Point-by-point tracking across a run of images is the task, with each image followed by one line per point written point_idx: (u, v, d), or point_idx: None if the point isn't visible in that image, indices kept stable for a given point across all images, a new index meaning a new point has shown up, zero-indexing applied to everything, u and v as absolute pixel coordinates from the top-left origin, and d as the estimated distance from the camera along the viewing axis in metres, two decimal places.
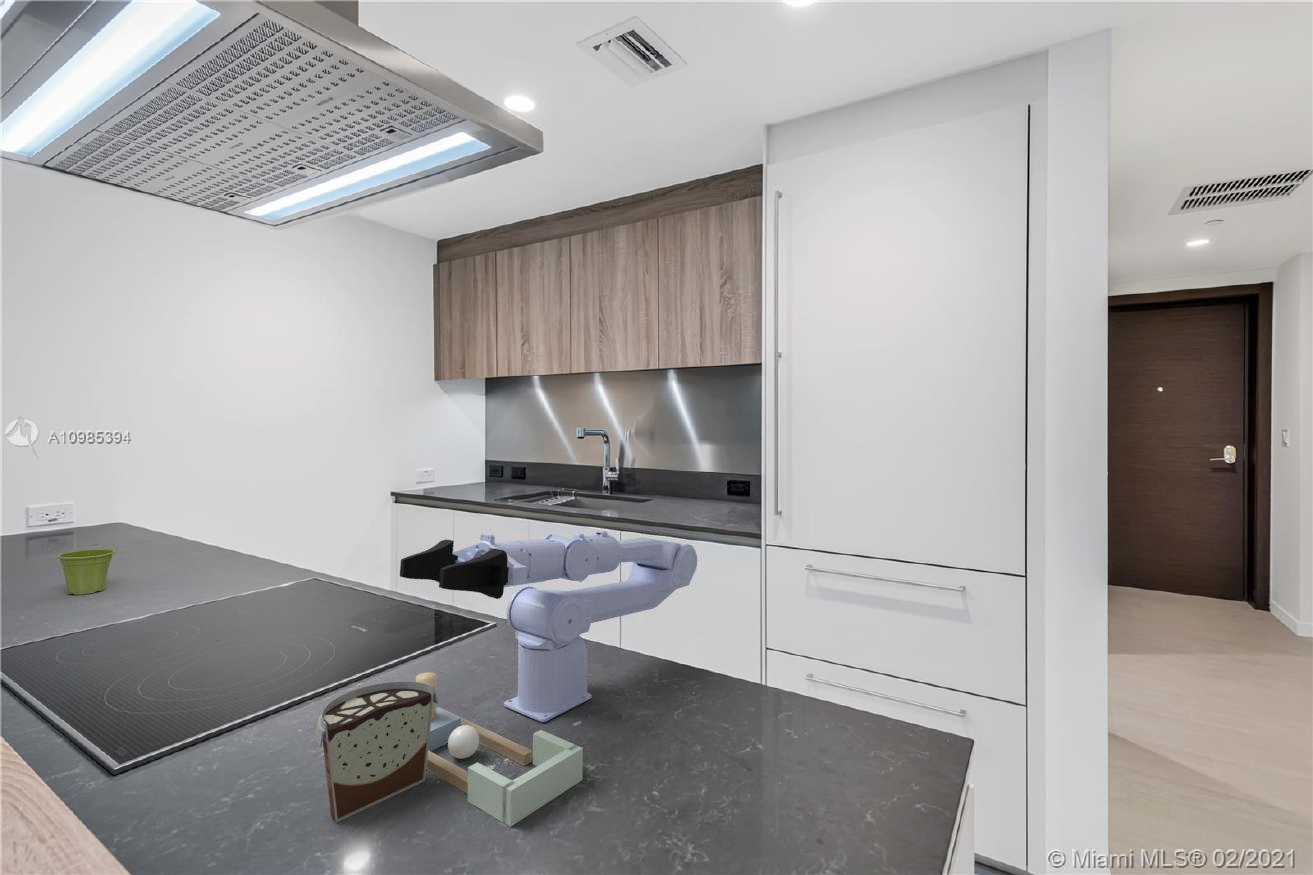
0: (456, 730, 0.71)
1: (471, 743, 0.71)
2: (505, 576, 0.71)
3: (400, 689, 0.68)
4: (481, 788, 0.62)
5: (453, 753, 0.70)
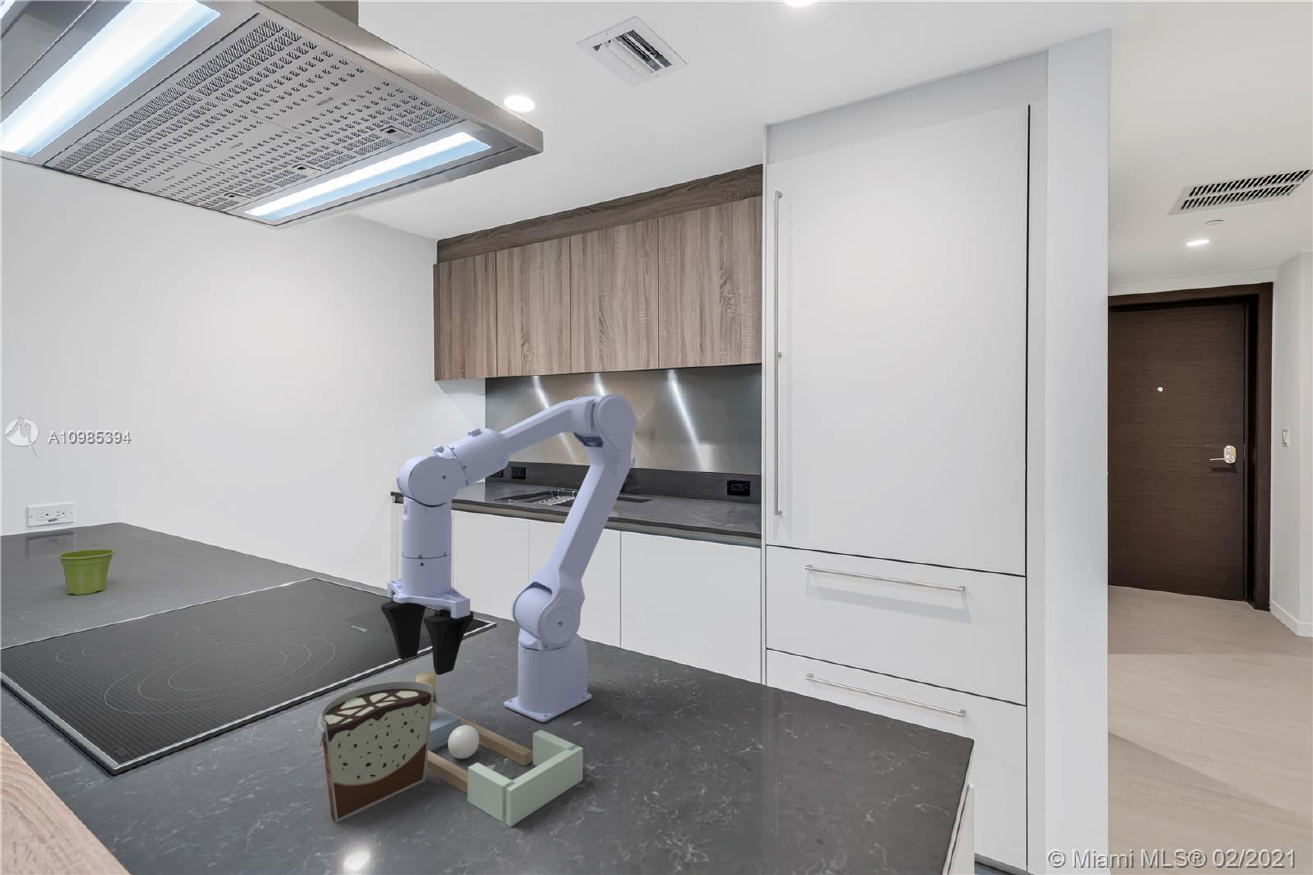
0: (456, 730, 0.71)
1: (471, 743, 0.71)
2: (458, 617, 0.72)
3: (399, 689, 0.68)
4: (481, 788, 0.62)
5: (453, 753, 0.70)
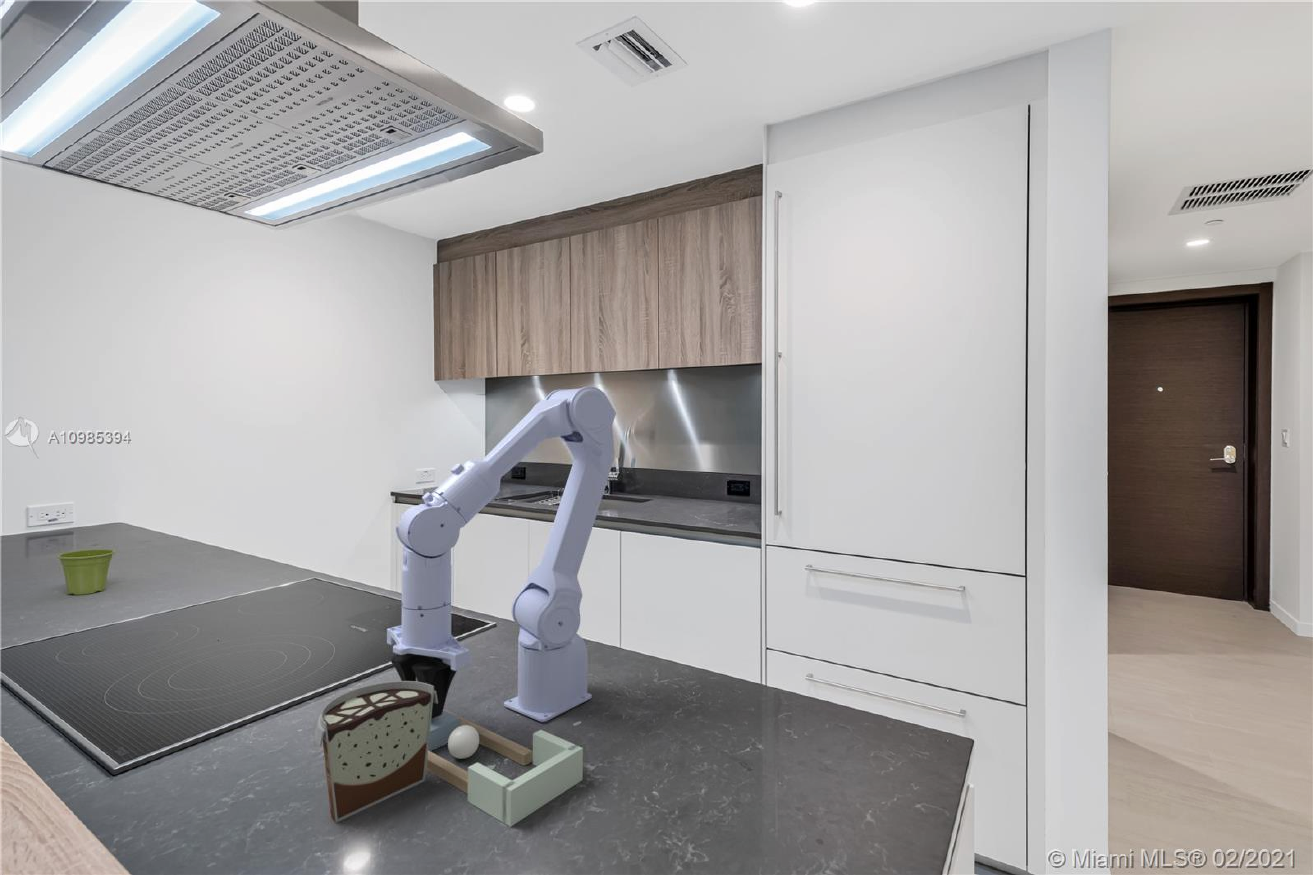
0: (456, 730, 0.71)
1: (471, 743, 0.71)
2: (446, 664, 0.74)
3: (400, 689, 0.68)
4: (481, 788, 0.62)
5: (453, 753, 0.70)
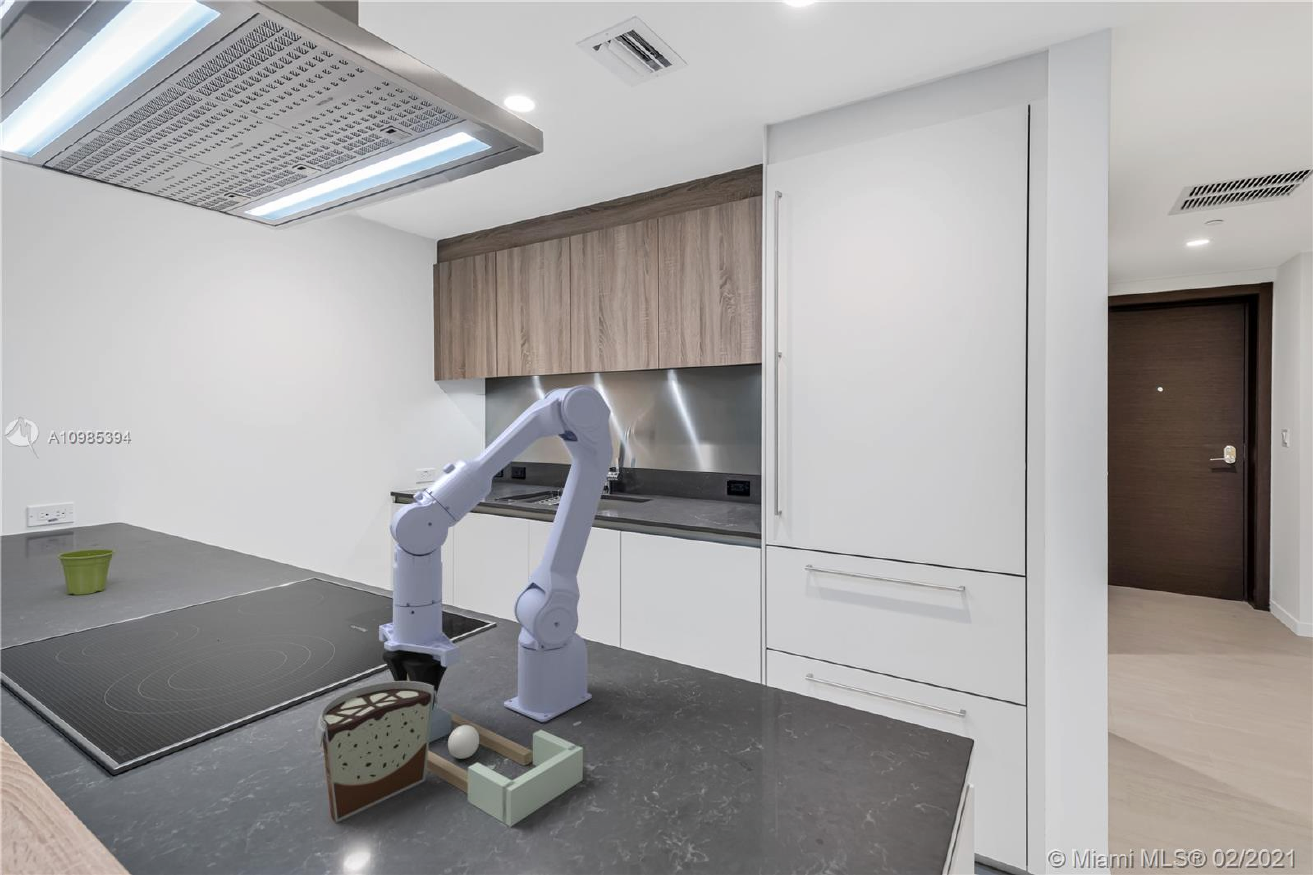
0: (456, 730, 0.71)
1: (471, 743, 0.71)
2: (436, 660, 0.75)
3: (400, 689, 0.68)
4: (481, 788, 0.62)
5: (453, 753, 0.70)
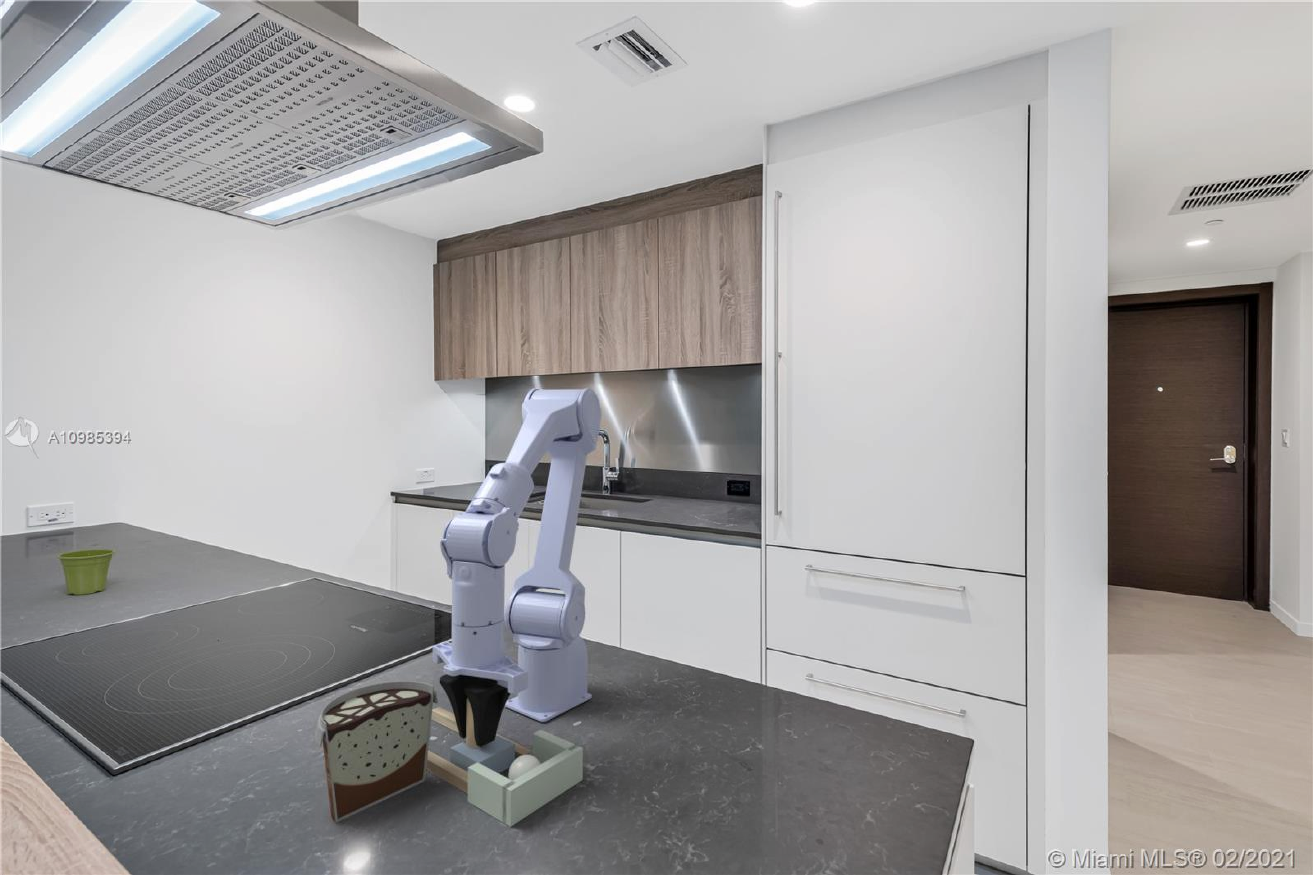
0: (515, 761, 0.65)
1: None
2: (500, 686, 0.68)
3: (399, 689, 0.68)
4: (481, 788, 0.62)
5: None
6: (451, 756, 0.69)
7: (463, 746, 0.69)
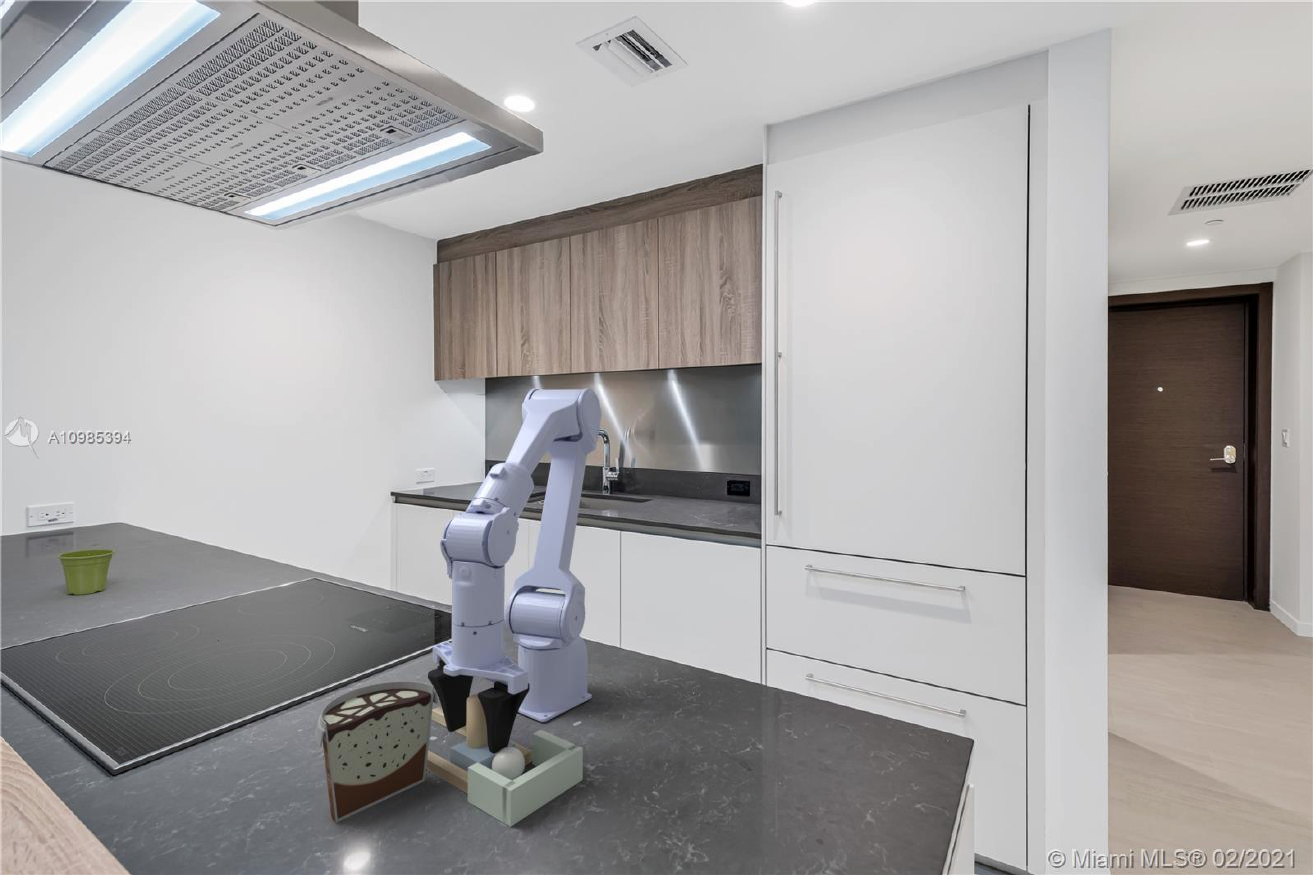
0: None
1: (502, 749, 0.67)
2: None
3: (399, 689, 0.68)
4: (481, 788, 0.62)
5: (499, 768, 0.65)
6: (451, 756, 0.69)
7: (463, 746, 0.69)
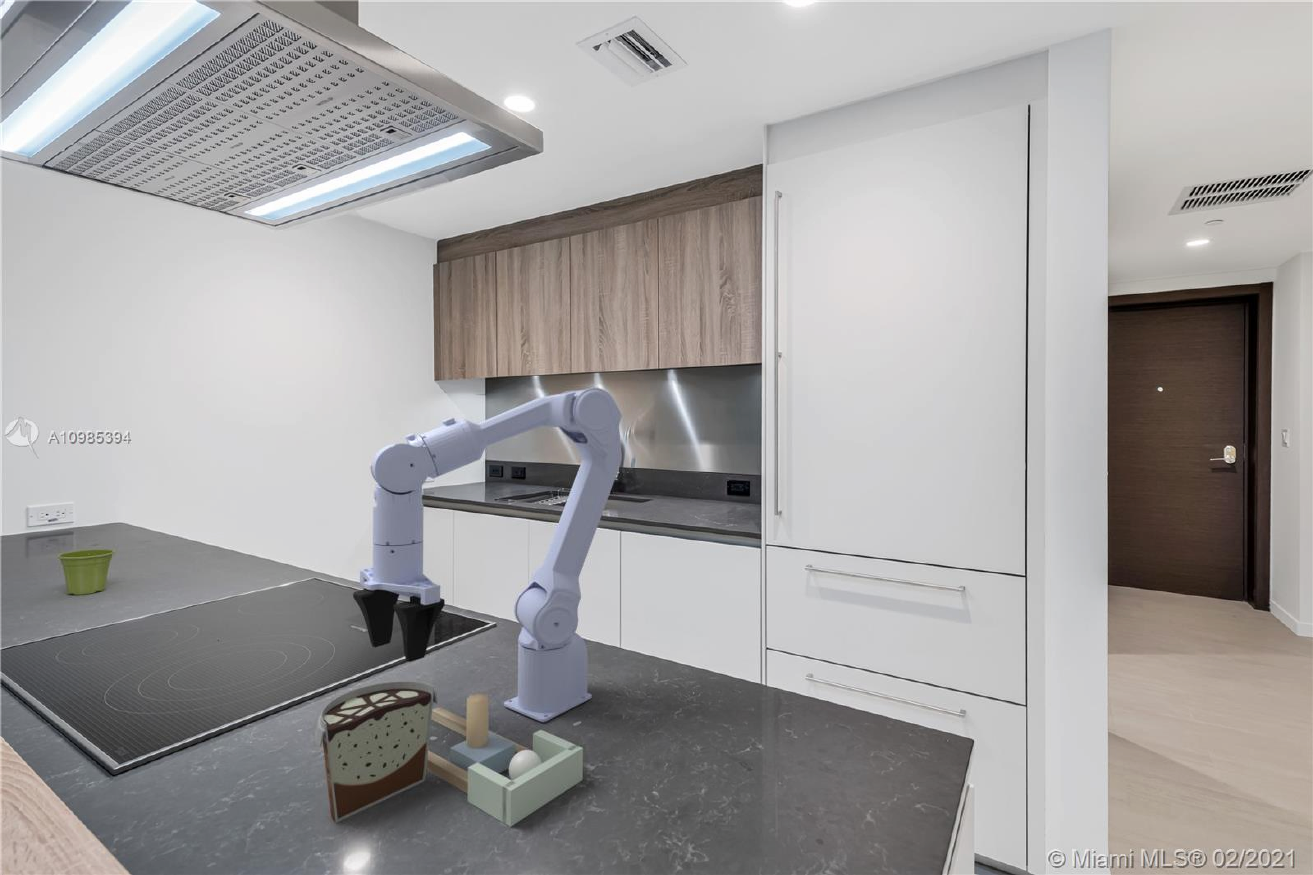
0: (513, 757, 0.66)
1: (534, 756, 0.66)
2: (428, 604, 0.72)
3: (399, 689, 0.68)
4: (481, 788, 0.62)
5: (520, 774, 0.65)
6: (451, 756, 0.69)
7: (463, 746, 0.69)
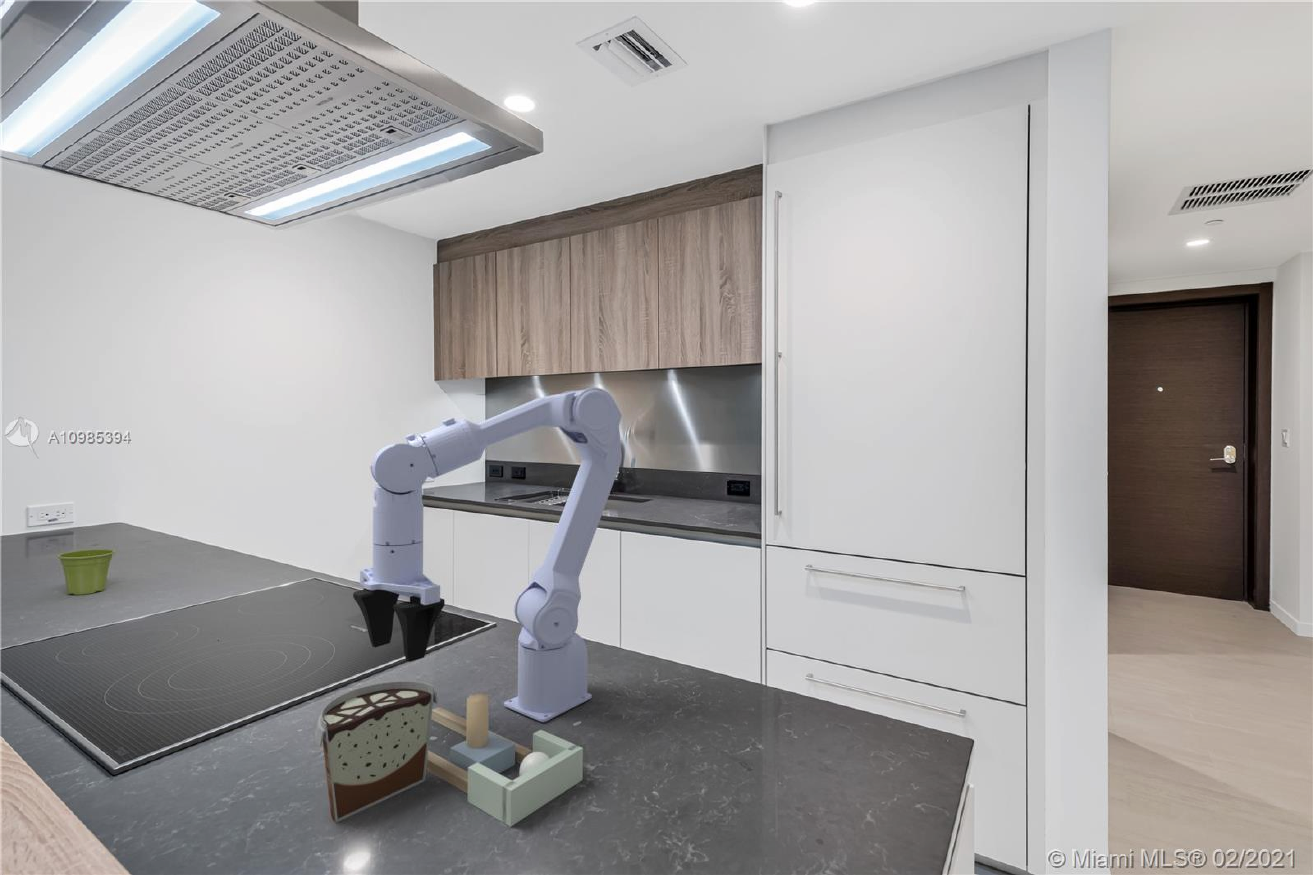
0: (533, 755, 0.66)
1: None
2: (428, 604, 0.72)
3: (400, 689, 0.68)
4: (481, 788, 0.62)
5: None
6: (451, 756, 0.69)
7: (463, 746, 0.69)
